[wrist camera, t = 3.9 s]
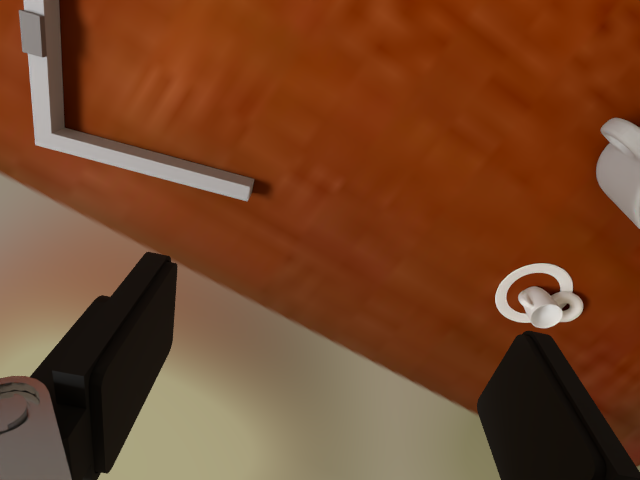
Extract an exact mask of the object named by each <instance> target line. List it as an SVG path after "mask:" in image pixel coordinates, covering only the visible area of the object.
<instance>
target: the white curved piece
mask: <svg viewBox="0 0 640 480" xmlns="http://www.w3.org/2000/svg"><path fill="white" fill-rule="evenodd" d="M530 273H547V274H550V275H552V276H553V277H555V278H556V279H557V280H558V282H559V284H560V292H558V293H555V294H553V295H551V296H550V295H549V294H548V293H547V292H546V291H545V290H543V289H542V288H539V287H535V286H533V287H529V288H527V289H526V290H524V291H522V292H521V293H520V294H519V296H518V300H519V302H520V303H521V304H522V305H523V306H524V309H525V311H526V313H527V314H523V313H519V312H516V311H514V310H513V309H511V308H510V307H509V305H508V304H507V301H506V294H507V291H508V289H509V287H510V286H511V284H512V283H513V282H514V281H516V280H517V279H519V278H520V277H522V276H524V275H527V274H530ZM572 292H573V283H572V279H571V277H570V276H569V274H568V273H567V272H566V271H565V270H564V269H562V268H560V267H558V266H556V265H552V264H546V263H537V264H531V265H527V266H524V267H521V268H519V269H517V270H515V271H513V272H512V273H510V274H509V275H508V276H507V277H506V278H505V279H504V280H503V281H502V282H501V284H500V285H499V287H498V289H497V291H496V296H495V302H496V306H497V308H498V310H499V311H500V313H501V314H502V315H504V316H505V317H506V318H508V319H510V320H513V321H516V322H523V323H530V322H531V323H532V324H533V325H534V326H536V327H538V328H548V327H552V326H554V325H556V324H557V323H558V322H568V321H572V320H574V319H576V318H577V317H578V316H580V314H581V313H582V311H583V302H582V300H581V298H580V297H579V296H577V295H576V294H574V293H572ZM567 303H568V304H570V307H569V309H567V310H565V311H562V308H564V306H565V305H566V304H567Z"/></svg>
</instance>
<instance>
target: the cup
mask: <svg viewBox="0 0 640 480" xmlns="http://www.w3.org/2000/svg"><path fill="white" fill-rule="evenodd" d="M601 132H602V134H603V135H604V137H605V138H606V139H607V140H608V141H609V142H610V143H609V144H608V145H607V146H606V148H605V149H604V150H603V152H602V153H601V155H600V157H599V160H598V163H597V167H596V176H597V180H598V183H599V185H600V187H601V188H602V190H603V191H604V192H605V194H606V195H607V196H608V197H609V198H610V199H611V200H612V201H613V202H614V203H615V204H616V205H617V206H618V207H619V208H620V209H621V210H622V211H623V212H624V213H625V214H626V215H627V216H628V218H629V219H630V220H631V221H632V222H633V223H634V224H635V225H636V226H637V227H638V228H639V229H640V127H638V126H636V125H634V124H633V123H631V122H629V121H627V120H624V119H621V118H613V119H610V120H609V121H608V122H606V123H605V124H604V125H603V126H602V128H601Z"/></svg>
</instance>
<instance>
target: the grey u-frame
mask: <svg viewBox="0 0 640 480" xmlns="http://www.w3.org/2000/svg"><path fill="white" fill-rule="evenodd" d="M19 16H20V28H21V39H22V51H23V52H25V53H28V60H29V73H30V85H31V97H32V109H33V122H34V134H35V145H38V146H41V147H45V148H49V149H53V150H56V151H60V152H64V153H68V154H72V155H75V156H79V157H83V158H87V159H90V160H94V161H98V162H102V163H105V164H109V165H113V166H117V167H120V168H124V169H128V170H132V171H135V172H139V173H143V174H147V175H150V176H154V177H158V178H162V179H165V180H169V181H173V182H177V183H180V184H184V185H188V186H192V187H195V188H199V189H203V190H207V191H210V192H214V193H218V194H222V195H225V196H229V197H233V198H237V199H241V200H244V201H248V199H249V197H250V195H251V193H252V189H253V184H254V179H252V178H249V177H245V176H241V175H238V174H234V173H230V172H226V171H223V170H219V169H215V168H212V167H208V166H204V165H201V164H197V163H193V162H190V161H186V160H182V159H179V158H175V157H171V156H168V155H164V154H160V153H156V152H153V151H149V150H145V149H142V148H138V147H134V146H131V145H127V144H123V143H120V142H116V141H112V140H109V139H105V138H101V137H98V136H94V135H90V134H86V133H83V132H79V131H75V130H72V129H68V128H65V124H64V101H63V78H62V55H61V32H60V9H59V0H24V10H19Z"/></svg>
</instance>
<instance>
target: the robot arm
mask: <svg viewBox="0 0 640 480" xmlns="http://www.w3.org/2000/svg"><path fill="white" fill-rule="evenodd" d="M176 280H177V264H176V263H172V262H171V258H170V256H166V255H161V254H156V253H151V252H146V253H145V254H144V256H143V257H142V258H141V259H140V261H139V262H138V263H137V264H136V266H135V267H134V268H133V270H132V271H131V272H130V273H129V275H128V276H127V277H126V278H125V280H124V281H123V282H122V283H121V285H120V286H119V287H118V288H117V290H116V291H115V292H114V293H113V295H112V296H111V297H108V296H103V295H102V296H99V297H98V298H96V299H95V300H94V302H93V303H92V304H91V305H90V306H89V307H88V308H87V310H86V311H85V312H84V313H83V315H82V316H81V317H80V318H79V319H78V320H77V322H76V323H75V324H74V325H73V326H72V327H71V329H70V330H69V331H68V332H67V333H66V335H65V336H64V337H63V338H62V339H61V341H60V342H59V343H58V344H57V345H56V346H55V348H54V349H53V350H52V351H51V352H50V354H49V355H48V356H47V357H46V358H45V360H44V361H43V362H42V363H41V364H40V366H39V367H38V368H37V369H36V370H35V371H34V373H33V374H32V375H31V376H30V377H26V376H11V377H5V378H0V480H97V479H98V477H99V475H100V473H108V472H109V471H110V470H111V468H112V467H113V465H114V463H115V460H116V459H117V457H118V455H119V453H120V451H121V448H122V447H123V445H124V443H125V441H126V439H127V437H128V435H129V432H130V431H131V428H132V427H133V424H134V422H135V420H136V418H137V416H138V414H139V412H140V410H141V408H142V406H143V404H144V402H145V400H146V398H147V396H148V394H149V392H150V390H151V388H152V386H153V384H154V382H155V380H156V378H157V376H158V374H159V372H160V370H161V368H162V366H163V364H164V362H165V360H166V358H167V356H168V354H169V351H170V349H171V345H172V340H173V327H174V310H175V295H176ZM477 410H478V414H479V417H480V420H481V423H482V426H483V429H484V432H485V434H486V437H487V440H488V443H489V446H490V449H491V452H492V455H493V458H494V460H495V463H496V466H497V469H498V472H499V475H500V478H501V480H640V472H639V470H638V469H637V467H636V466H635V464H634V463H633V461H632V460H631V458H630V457H629V455H628V454H627V452H626V450H625V449H624V447H623V446H622V444H621V443H620V441H619V440H618V438H617V437H616V435H615V434H614V432H613V430H612V429H611V427H610V426H609V424H608V423H607V421H606V420H605V418H604V417H603V415H602V414H601V412H600V410H599V409H598V407H597V406H596V404H595V403H594V401H593V400H592V398H591V397H590V395H589V394H588V392H587V390H586V389H585V387H584V386H583V384H582V383H581V381H580V380H579V378H578V377H577V375H576V374H575V372H574V370H573V369H572V367H571V366H570V364H569V363H568V361H567V360H566V358H565V357H564V355H563V354H562V352H561V350H560V349H559V347H558V346H557V344H556V343H555V341H554V340H553V338H552V337H551V336H549V335H547V334H542V333H537V332H533V331H526V332H524V333H523V334H522V335H518V336H517V337H516V338H515V340H514V341H513V343H512V345H511V346H510V348H509V349H508V351H507V353H506V354H505V356H504V358H503V359H502V361H501V363H500V364H499V366H498V368H497V369H496V371H495V373H494V374H493V376H492V377H491V379H490V381H489V382H488V384H487V386H486V387H485V389H484V391H483V392H482V394H481V396H480V397H479V399H478V403H477Z"/></svg>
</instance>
